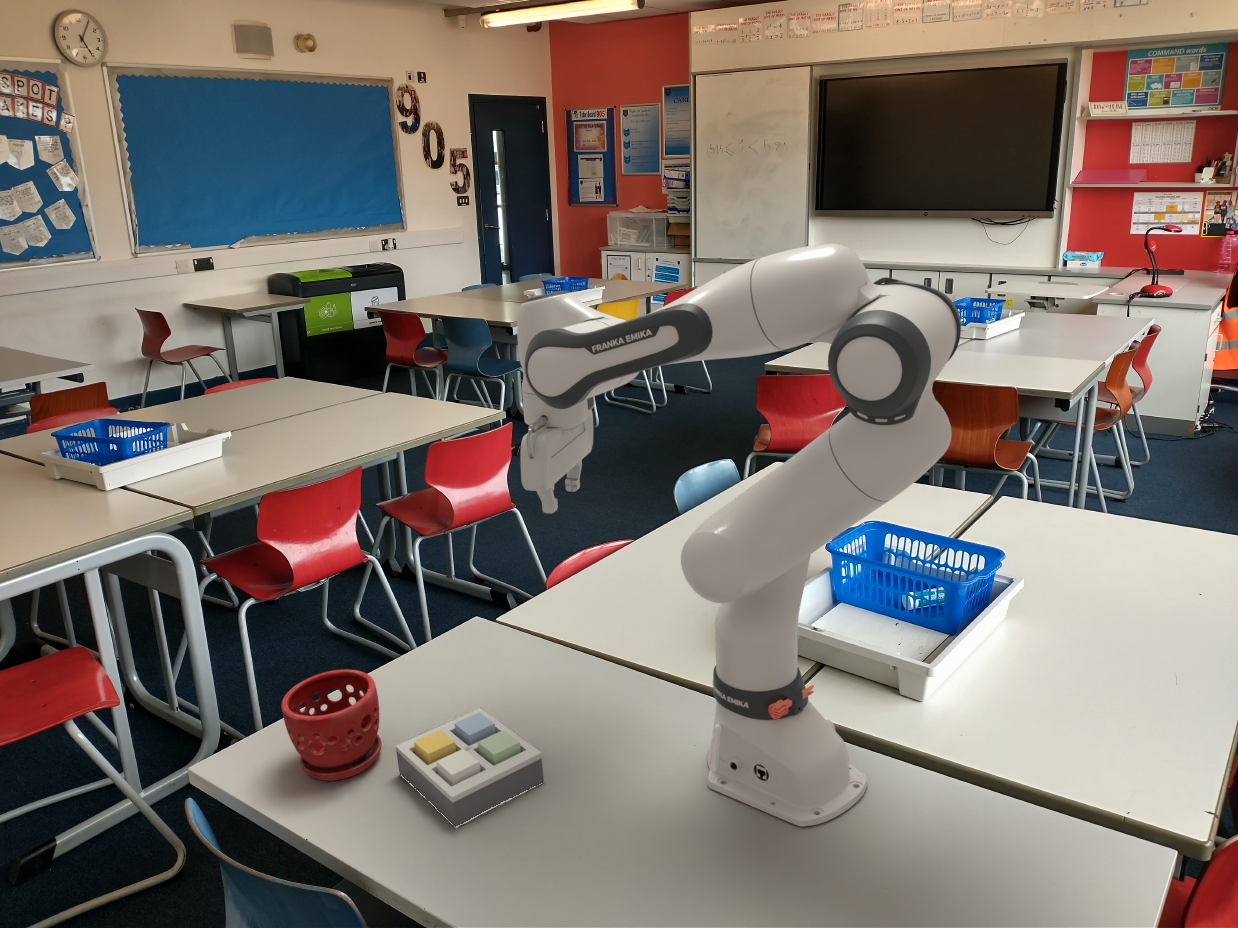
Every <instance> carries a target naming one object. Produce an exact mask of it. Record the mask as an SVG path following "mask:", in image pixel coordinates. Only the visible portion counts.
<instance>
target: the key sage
mask: <svg viewBox="0 0 1238 928" xmlns="http://www.w3.org/2000/svg"><path fill="white" fill-rule="evenodd" d="M478 748H479V755H480V756H482V757H483V758H484V759H485V760H487V761H488V762H489V763H490V764H492V765H493V766H495V765H497V764H499V763H501V762H503V761H505V760H507V759H509V758H511V757H513V756H515V755H517V754H519V753H521V749H520V742H519V741H518V740H516V739H515V738H513V737H512V736H511V735H509V734H508V733H507V732H505V731H504V730H502V731H500V732H498V733H496V734H494V735H492V736H490V737H487V738H485V739H483V740H481V741H479V742H478Z"/></svg>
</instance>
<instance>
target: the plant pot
mask: <svg viewBox="0 0 1238 928" xmlns="http://www.w3.org/2000/svg"><path fill="white" fill-rule="evenodd" d="M348 686H351V687H352V689H353V691H349V690H348V689H347V687H348ZM333 689H335V690H337V691H339V692H340V694H341V697H340V699H337V700H331V699H330V698H329V695H328V694H329V692H330V691H331V690H333ZM361 692H362V694H363V695H362V694H361ZM315 694H319V696H318V698H317V699H316V700H313V696H314V695H315ZM350 698H354V700H355V703H353V704H352V703H351V702H350ZM303 704H304V709H303V710H302V711H301V706H302V705H303ZM325 705H326V708H325V710H323V709H322V706H325ZM311 709H313V710H314V711H313V713H312V714H311V713H310V710H311ZM281 712H282V716H283V720H284V724H285V729H286V731H287V734H288V736H289V739H290V741H291V743H292V746H293V747H294V749H295V750H296V751H297V753H298V755H300V758H299V759H300V761H299V762H300V767H301V769H302V771H304V772H305V773H306V774H307V775H308V776H310V777H312V778H315V779H317V780H321V781H337V780H338V781H339V780H344V779H347V778H350V777H353V776H356V775H358V774H359V773H361V772H363V771H364V770H366V769H367V768H369V767H370V766H372V765H373V763H375V761H376V759H378V757H379V756H380V754H381V751H382V743H383V742H382V739H381V737H380V735H379V734H378V732H379V726H380V703H379V697H378V690H377V687H376V683H375V681H374V679H373V677H372V676H371V675H369V674H367V673H366V672H364V671H361V670H358V669H357V670H356V669H335V670H329V671H325V672H322V673H321V672H320V673H319V674H314V675H312V676H311V677H308V678H306V679H303V680H302V681H301V682H299V683H297V684H296V685H294V686H293V687H292V688H291V689H289V691H287V692H286V694H285V695H284V696H283V699H282V701H281ZM355 774H356V775H355Z"/></svg>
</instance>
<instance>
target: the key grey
mask: <svg viewBox="0 0 1238 928" xmlns="http://www.w3.org/2000/svg"><path fill="white" fill-rule="evenodd" d="M436 762H437V770H438V775H439V776H440V777H441V778H442V779H443V780H444V781H445V782H447V783H448V784H449V785H450V786H451V787H452V786H454V785H456V784H458V783H460V782H462V781H464V780H466V779H468V778H470V777H472V776H474V775H476V774H478V773H480V772H481V771H480V763H479V761H478V760H477V759H475V758H474V757H473V756H472V755H471V754H469V753H468V752H467V751H466V750H464V749H462V750H460V751H457V752H455V753H453V754H451V755H449V756H447V757H445V758H442V759H440V760H438V761H436Z"/></svg>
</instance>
